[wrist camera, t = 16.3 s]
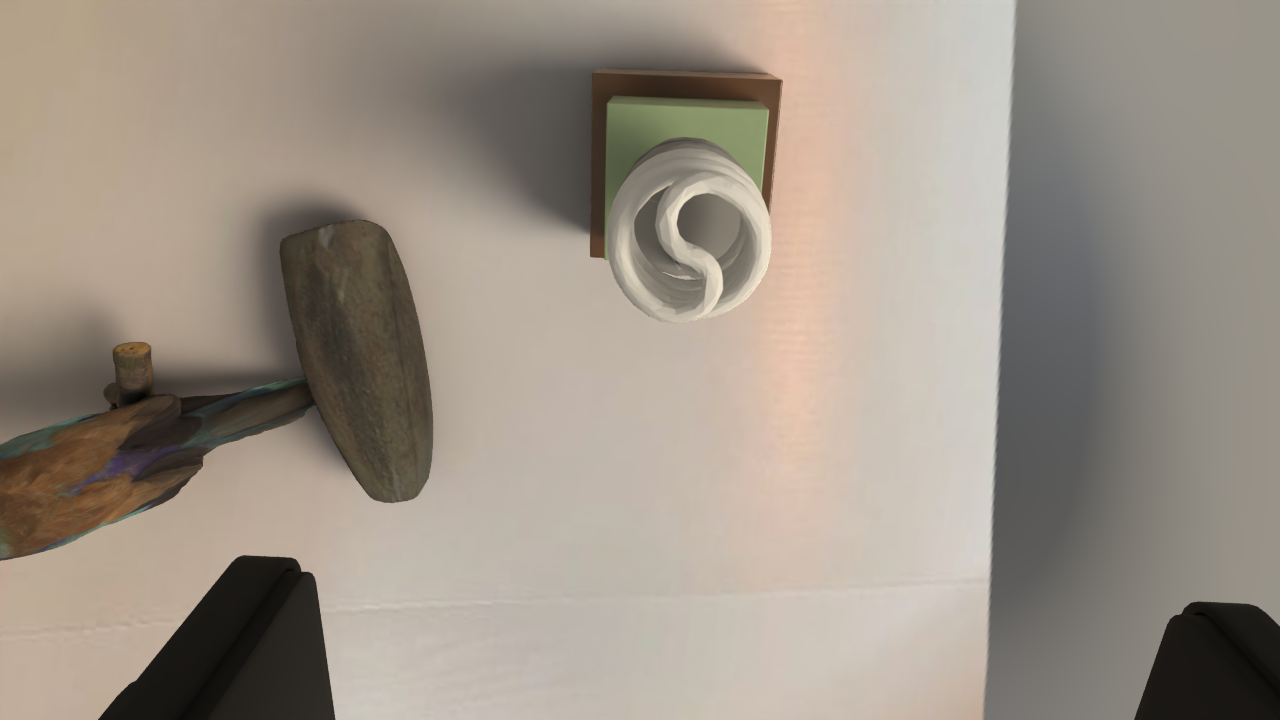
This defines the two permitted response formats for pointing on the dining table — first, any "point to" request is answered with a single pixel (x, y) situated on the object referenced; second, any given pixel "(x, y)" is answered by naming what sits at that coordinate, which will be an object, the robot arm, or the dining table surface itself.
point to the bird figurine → (125, 453)
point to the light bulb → (688, 232)
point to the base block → (673, 86)
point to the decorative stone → (362, 353)
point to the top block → (681, 133)
